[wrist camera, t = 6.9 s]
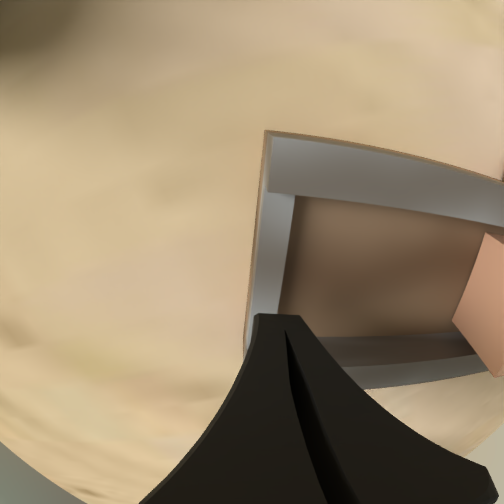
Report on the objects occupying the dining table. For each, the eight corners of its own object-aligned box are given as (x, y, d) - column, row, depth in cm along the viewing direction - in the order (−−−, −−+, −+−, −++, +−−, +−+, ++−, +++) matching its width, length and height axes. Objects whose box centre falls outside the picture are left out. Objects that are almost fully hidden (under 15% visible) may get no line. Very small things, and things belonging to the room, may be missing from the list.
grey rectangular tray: (539, 335, 18) (559, 358, 15) (241, 355, 16) (241, 407, 13) (590, 202, 13) (618, 219, 9) (268, 99, 11) (278, 95, 8)
